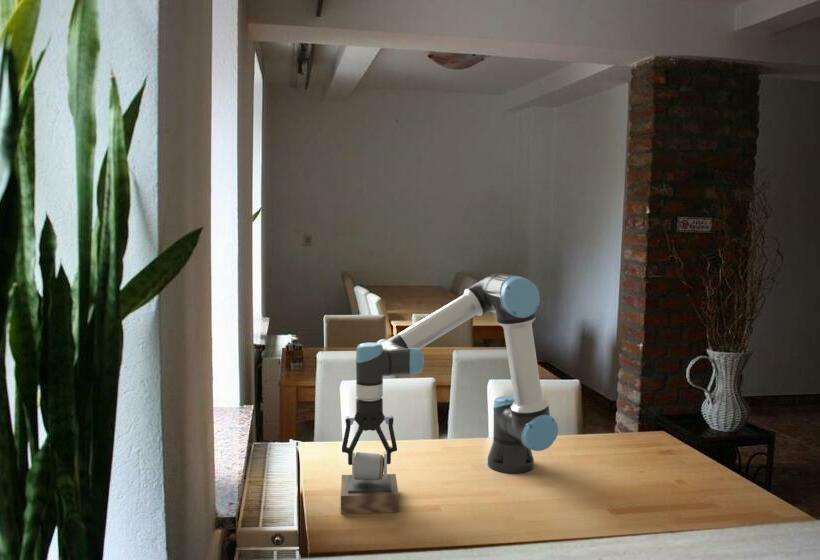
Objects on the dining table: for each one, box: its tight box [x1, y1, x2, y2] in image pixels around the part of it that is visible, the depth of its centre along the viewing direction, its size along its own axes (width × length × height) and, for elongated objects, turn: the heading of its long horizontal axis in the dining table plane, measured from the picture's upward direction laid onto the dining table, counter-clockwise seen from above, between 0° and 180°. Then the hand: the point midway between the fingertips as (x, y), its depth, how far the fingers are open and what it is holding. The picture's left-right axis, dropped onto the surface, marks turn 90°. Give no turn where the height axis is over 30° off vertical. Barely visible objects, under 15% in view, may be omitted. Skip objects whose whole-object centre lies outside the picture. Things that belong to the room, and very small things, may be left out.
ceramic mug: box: [354, 451, 384, 480], centre depth 210 cm, size 11×8×8 cm
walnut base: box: [340, 473, 400, 514], centre depth 209 cm, size 16×16×6 cm
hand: (369, 475), depth 209 cm, fingers closed on ceramic mug, 8 cm apart
